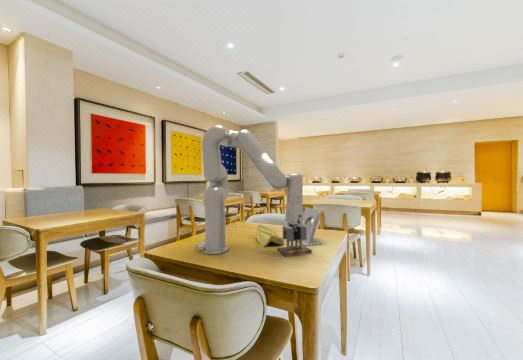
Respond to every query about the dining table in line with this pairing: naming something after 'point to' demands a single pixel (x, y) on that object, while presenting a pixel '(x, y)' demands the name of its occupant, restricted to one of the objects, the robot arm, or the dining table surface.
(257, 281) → the dining table surface
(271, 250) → the dining table surface
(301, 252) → the brown peg board
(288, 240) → the block
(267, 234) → the yellow-green folded towel
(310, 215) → the phone holder
